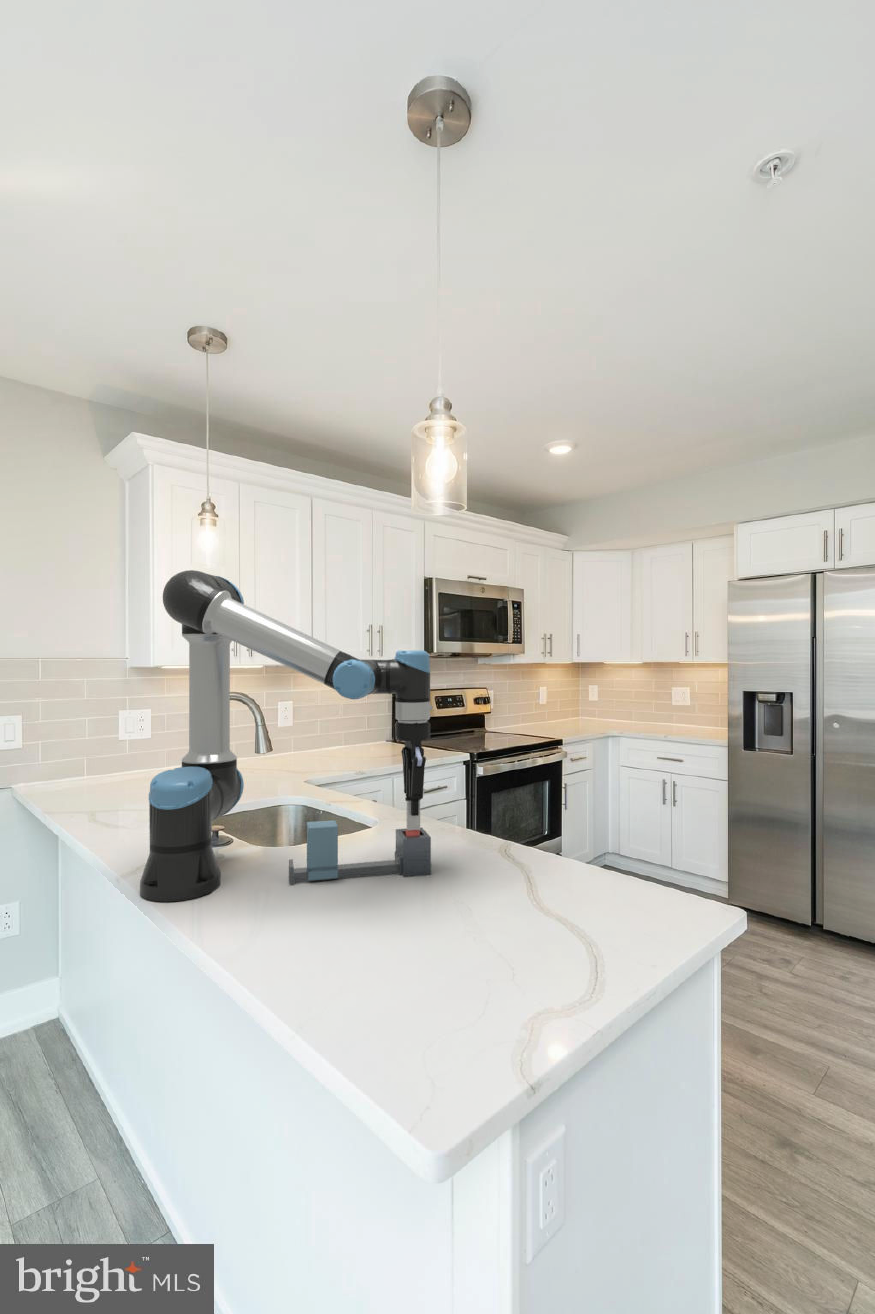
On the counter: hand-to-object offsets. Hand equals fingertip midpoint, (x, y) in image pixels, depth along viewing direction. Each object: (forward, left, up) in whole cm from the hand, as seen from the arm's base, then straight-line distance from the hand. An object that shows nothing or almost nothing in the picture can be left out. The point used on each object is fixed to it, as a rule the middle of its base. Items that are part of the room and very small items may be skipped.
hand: (413, 829), depth 140 cm
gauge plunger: (0, 0, -6) cm, 6 cm away
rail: (-15, 0, -9) cm, 17 cm away
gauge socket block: (0, 0, -9) cm, 9 cm away
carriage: (-20, 0, -8) cm, 21 cm away
